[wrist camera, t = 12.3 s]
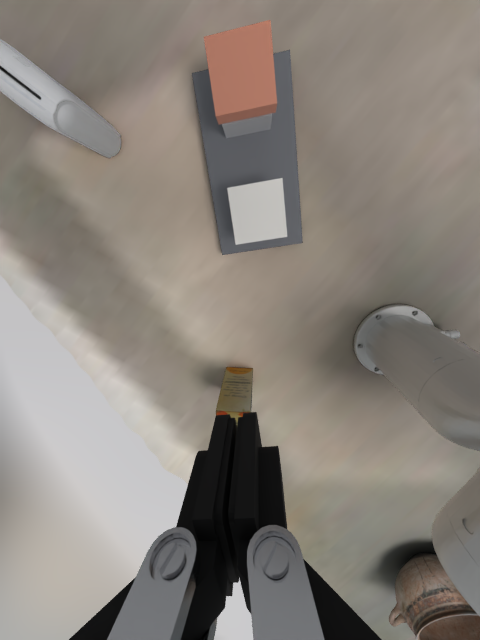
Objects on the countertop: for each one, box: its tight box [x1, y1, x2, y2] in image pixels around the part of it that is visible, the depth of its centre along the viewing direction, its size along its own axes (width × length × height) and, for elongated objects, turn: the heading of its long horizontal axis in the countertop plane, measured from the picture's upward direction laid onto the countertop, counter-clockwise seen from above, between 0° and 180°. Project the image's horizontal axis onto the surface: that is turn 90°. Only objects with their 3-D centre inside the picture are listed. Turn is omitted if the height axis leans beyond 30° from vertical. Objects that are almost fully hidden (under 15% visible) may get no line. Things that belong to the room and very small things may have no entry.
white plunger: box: [227, 178, 287, 245], centre depth 32 cm, size 6×6×6 cm
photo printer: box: [0, 39, 121, 158], centre depth 29 cm, size 10×4×12 cm, turn 53°
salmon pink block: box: [204, 20, 277, 124], centre depth 27 cm, size 6×6×6 cm
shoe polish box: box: [216, 367, 253, 425], centre depth 41 cm, size 5×5×12 cm
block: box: [192, 50, 303, 255], centre depth 32 cm, size 12×22×6 cm, turn 8°
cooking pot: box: [389, 553, 480, 640], centre depth 54 cm, size 25×19×12 cm
